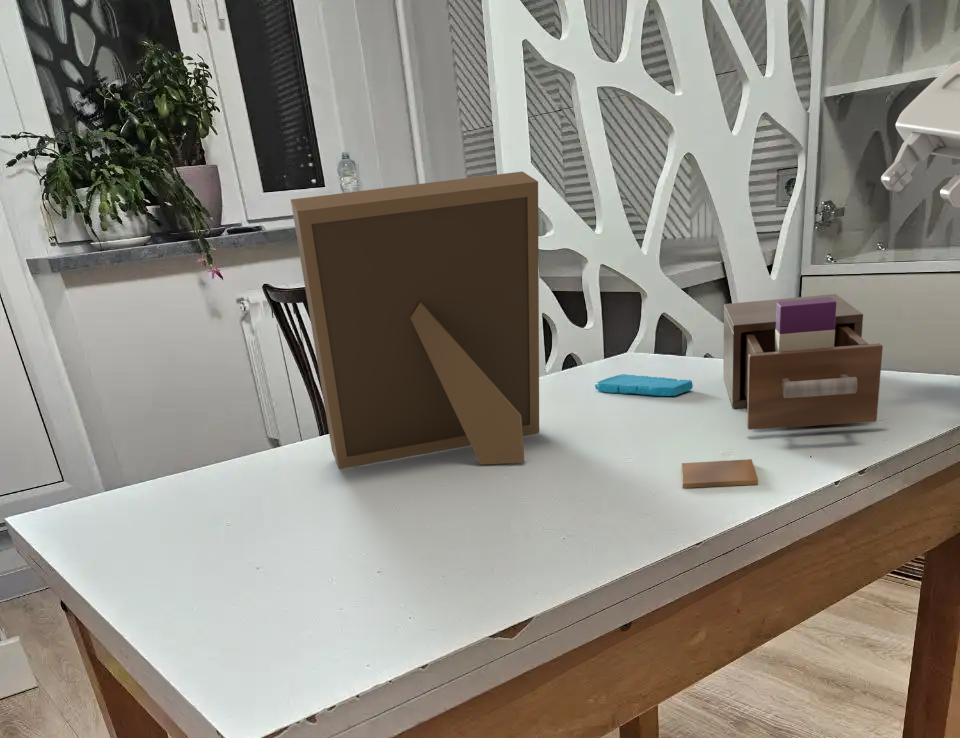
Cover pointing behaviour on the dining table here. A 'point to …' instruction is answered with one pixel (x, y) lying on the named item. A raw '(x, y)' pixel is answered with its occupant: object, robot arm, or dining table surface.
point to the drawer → (811, 381)
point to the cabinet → (762, 319)
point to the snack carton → (805, 324)
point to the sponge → (644, 385)
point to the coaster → (718, 473)
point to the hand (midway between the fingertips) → (916, 193)
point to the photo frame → (425, 316)
